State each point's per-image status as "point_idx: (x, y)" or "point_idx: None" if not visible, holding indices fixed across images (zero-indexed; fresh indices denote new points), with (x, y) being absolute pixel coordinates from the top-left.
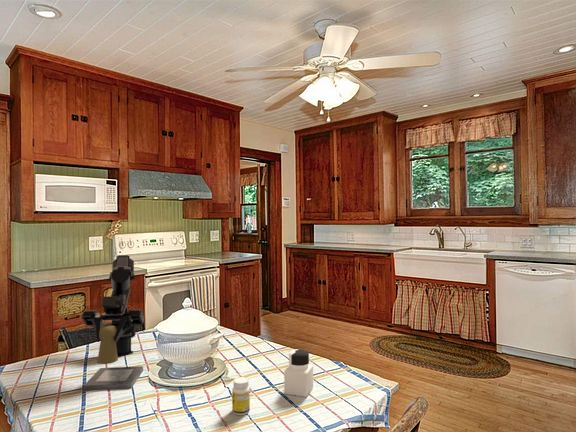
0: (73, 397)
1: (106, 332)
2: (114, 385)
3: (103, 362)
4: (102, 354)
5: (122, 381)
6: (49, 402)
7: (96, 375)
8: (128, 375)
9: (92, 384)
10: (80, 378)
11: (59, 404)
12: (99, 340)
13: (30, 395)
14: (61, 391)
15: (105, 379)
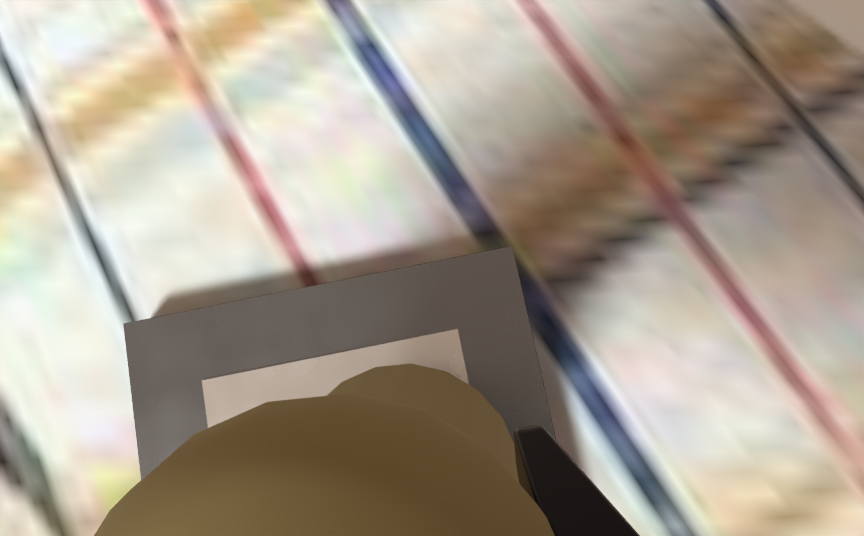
0: (510, 142)
1: (249, 416)
2: (268, 297)
3: (391, 366)
4: (406, 382)
5: (219, 353)
6: (629, 59)
7: None
8: None
9: (450, 274)
10: (695, 490)
11: (538, 39)
12: None
13: (858, 146)
14: (673, 228)
15: None
